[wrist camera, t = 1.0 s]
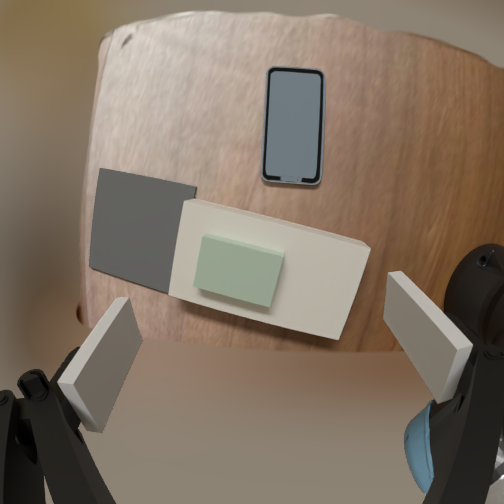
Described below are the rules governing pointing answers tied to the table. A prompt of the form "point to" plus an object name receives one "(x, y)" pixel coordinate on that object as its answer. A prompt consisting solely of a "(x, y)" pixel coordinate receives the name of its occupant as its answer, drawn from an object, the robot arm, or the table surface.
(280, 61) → the table surface
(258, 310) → the board
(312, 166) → the smartphone
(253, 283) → the tile
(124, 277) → the mat
